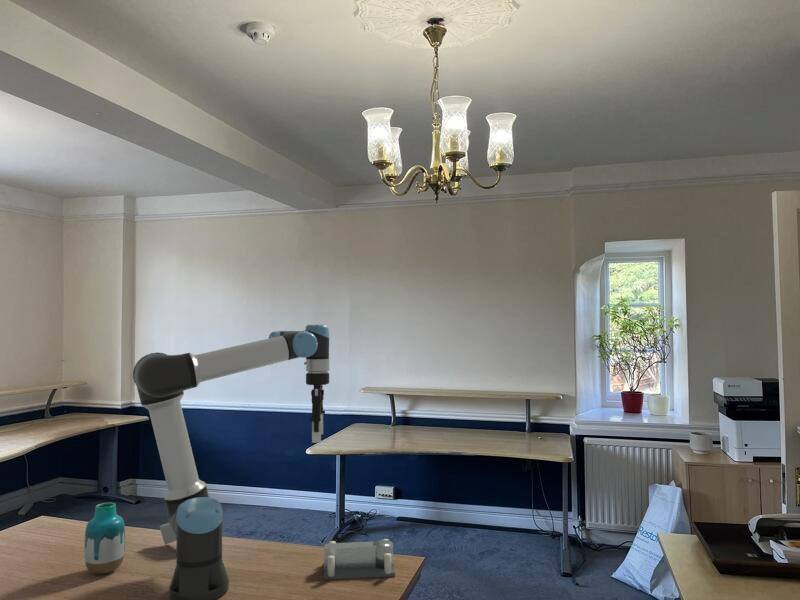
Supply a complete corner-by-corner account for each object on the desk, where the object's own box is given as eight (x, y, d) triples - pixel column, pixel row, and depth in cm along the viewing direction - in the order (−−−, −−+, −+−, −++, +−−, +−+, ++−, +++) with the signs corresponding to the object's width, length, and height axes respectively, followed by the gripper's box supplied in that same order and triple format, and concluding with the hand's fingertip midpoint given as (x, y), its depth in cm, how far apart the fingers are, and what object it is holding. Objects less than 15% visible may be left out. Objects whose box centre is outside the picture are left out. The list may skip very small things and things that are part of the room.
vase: (132, 566, 173) (133, 500, 174) (106, 581, 163) (106, 512, 164) (103, 562, 176) (104, 498, 177) (75, 577, 166) (76, 509, 166)
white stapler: (167, 556, 186) (204, 543, 182) (158, 526, 188) (194, 512, 184) (175, 552, 190) (211, 538, 186) (166, 522, 192) (202, 508, 188)
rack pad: (323, 580, 162) (323, 558, 162) (325, 561, 175) (325, 541, 175) (395, 577, 164) (395, 555, 164) (392, 558, 177) (391, 538, 177)
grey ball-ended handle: (324, 571, 166) (323, 550, 166) (324, 562, 172) (324, 542, 172) (393, 568, 167) (393, 547, 168) (392, 560, 173) (392, 539, 173)
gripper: (308, 369, 201) (308, 431, 200) (302, 375, 176) (302, 446, 175) (330, 368, 201) (330, 430, 200) (327, 375, 176) (327, 445, 176)
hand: (317, 438), depth 188 cm, fingers open, 13 cm apart
